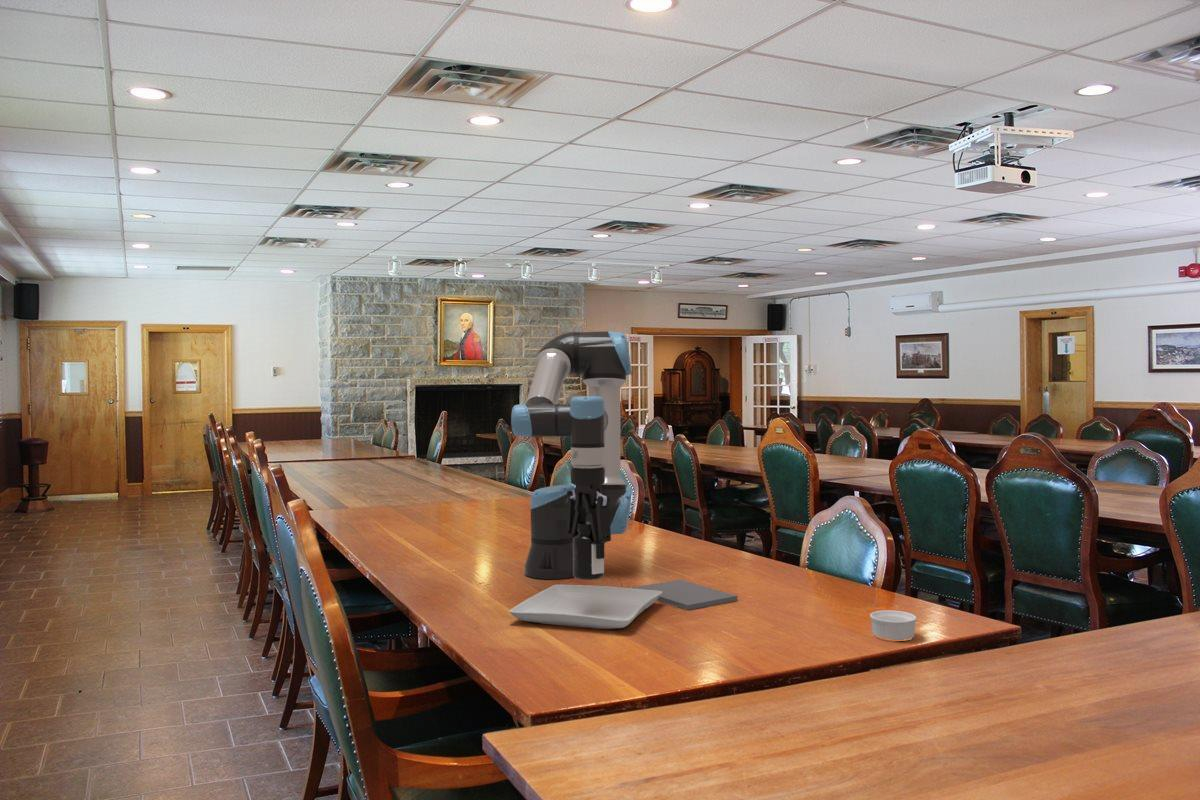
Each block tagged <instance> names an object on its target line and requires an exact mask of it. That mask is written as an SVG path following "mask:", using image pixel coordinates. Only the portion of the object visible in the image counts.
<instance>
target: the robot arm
mask: <svg viewBox="0 0 1200 800" xmlns="http://www.w3.org/2000/svg"><path fill="white" fill-rule="evenodd" d="M627 338H628V337H627V336H626V334H625V333H624V332H621V331H609V330H608V331H607V330H606V331H569V332H565V333H561V334H559V335H557V336H555V337H553V338H552V339H550V340H549V341H547V342H546V343H545V344H544V345H543V346H542V347H541V348H540V350H539V351H538V352H537V354H536V357H535V361H534V370H535V372H534V376H533V379H532V382H531V386H530V388H529V391H528V395H527V397H526V401H525V403H520V404H515V405H514V406H512V409H511V417H510V419H511V420H510V422H511V431H512V433H513V435H514V436H516V437H527V438H537V437H540V438H541V437H542V438H543V437H545V438H546V437H549V438H550V437H552V438H553V437H557V438H558V437H561V438H562V437H563V438H564V437H570V464H571V466H573V467H571V468H570V483H569V484H557V485H550V486H546V487H545V486H544V487H541V488H538V489H537V488H536V490H534V491H533V492H532V493H531V497H530V506H529V510H530V547H529V551H528V553H527V557H526V559H525V560H526V561H525V563H524V575H525V576H527V577H529V578H532V579H534V578H535V579H538V580H539V579H540V580H560V579H570V578H575V577H574V576H573V538H574V537H575V536H576V535H577V534H578V531H577V529H578V523H579V522H590V524H591V529H592V534H593V539H594V542H591V544H592V574H599V573H605V544H606V543H608V542H611V541H612V536H613V535H623V534H624V533H625V532H626V531H627V528H628V524H629V518H630V511H631V505H632V504H631V503H632V491H631V490H630V489H627V483H626V482H625V481H624V479H622V477H621V389H622V387H623V386H624V385H625V384H626V382H627V376H630V375H631V374H632V366H631V365H632V364H631V357H630V349H629V343H628V339H627ZM568 376H582V382H583V384H584V385H585V386H587V388H588V393H587V394H588V395H587V396H582V395H581V396H578V395H577V396H573V397H572V398H571V399H570V403H562V404H560V403H559V400H560V398H561V397H560V396H561V392H562V389H563V384H564V381H565V379H566V378H567V377H568Z"/></svg>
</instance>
